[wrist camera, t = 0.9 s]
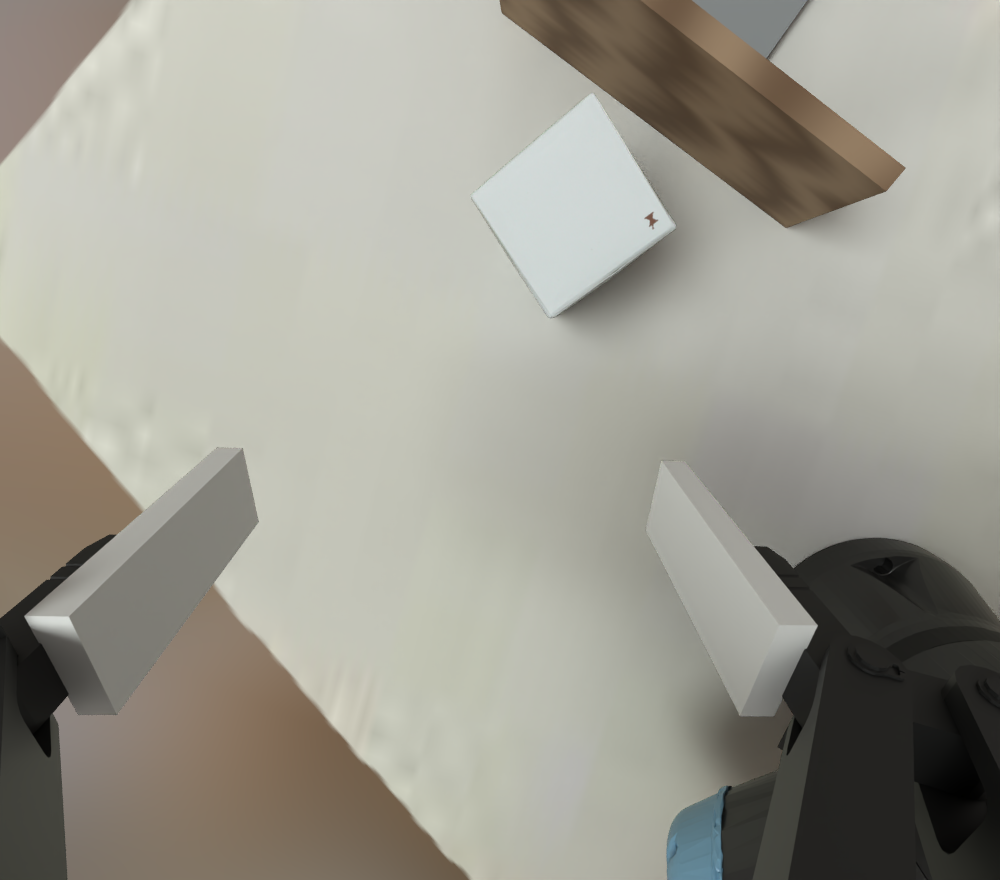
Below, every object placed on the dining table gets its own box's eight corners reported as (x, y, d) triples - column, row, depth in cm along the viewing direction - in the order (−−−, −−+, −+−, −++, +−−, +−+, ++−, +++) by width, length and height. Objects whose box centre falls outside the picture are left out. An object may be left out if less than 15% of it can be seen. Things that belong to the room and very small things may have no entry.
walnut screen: (798, 212, 32) (905, 168, 22) (785, 227, 32) (886, 191, 23) (512, -7, 30) (494, -155, 21) (501, 12, 31) (479, -125, 21)
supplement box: (580, 168, 33) (598, 82, 20) (635, 259, 34) (683, 229, 22) (495, 235, 34) (465, 192, 22) (550, 319, 36) (551, 322, 23)
